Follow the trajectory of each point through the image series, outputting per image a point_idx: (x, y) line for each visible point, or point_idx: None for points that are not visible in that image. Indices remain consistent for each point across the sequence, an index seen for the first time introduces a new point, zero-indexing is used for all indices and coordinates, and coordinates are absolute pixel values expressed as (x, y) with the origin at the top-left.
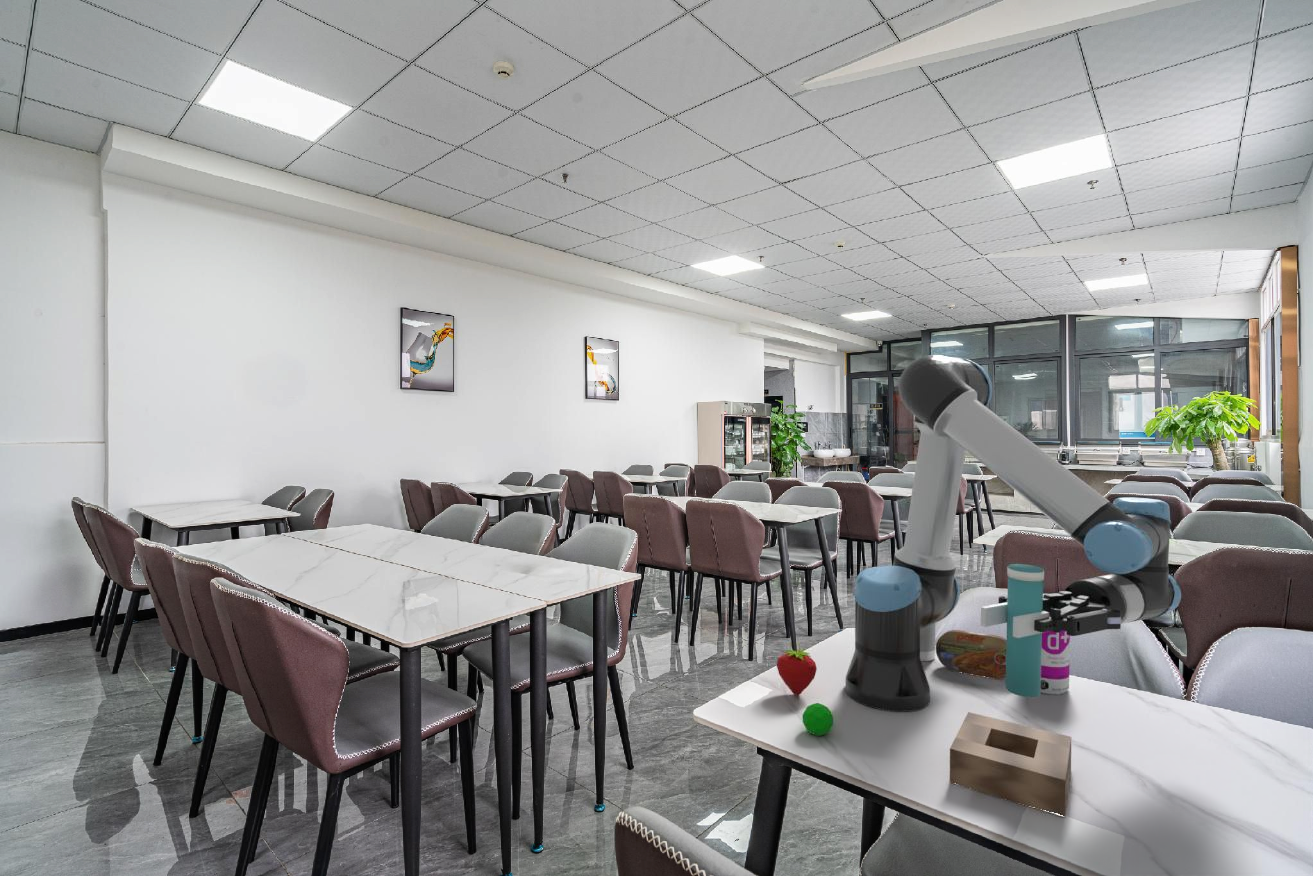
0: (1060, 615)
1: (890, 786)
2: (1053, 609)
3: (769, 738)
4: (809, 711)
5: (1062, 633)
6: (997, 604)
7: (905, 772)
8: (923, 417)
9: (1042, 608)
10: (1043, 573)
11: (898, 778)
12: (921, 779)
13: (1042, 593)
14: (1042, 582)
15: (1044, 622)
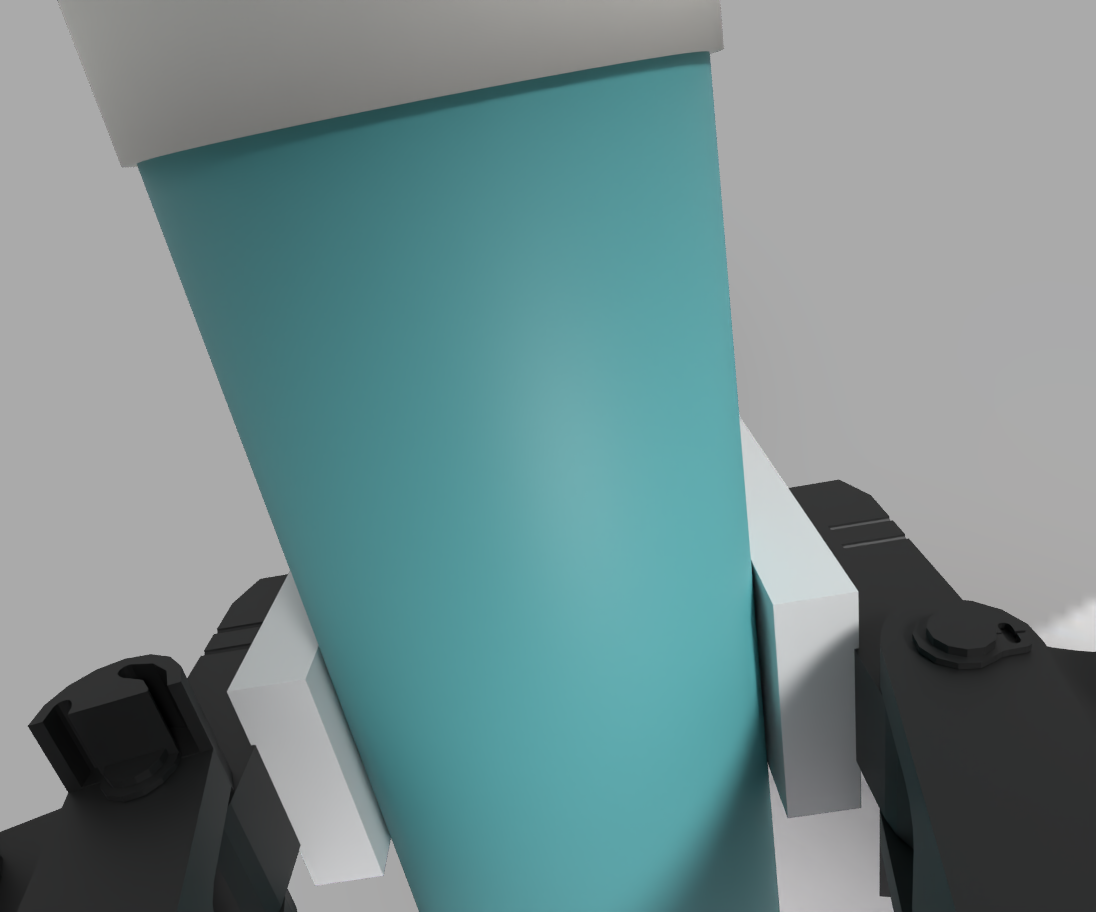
0: (76, 785)
1: (774, 785)
2: (143, 661)
3: (1083, 621)
4: None
5: None
6: (746, 447)
7: (853, 874)
8: None
9: (320, 647)
10: (67, 15)
11: (816, 830)
12: (799, 897)
13: (232, 413)
14: (156, 209)
15: (236, 602)
